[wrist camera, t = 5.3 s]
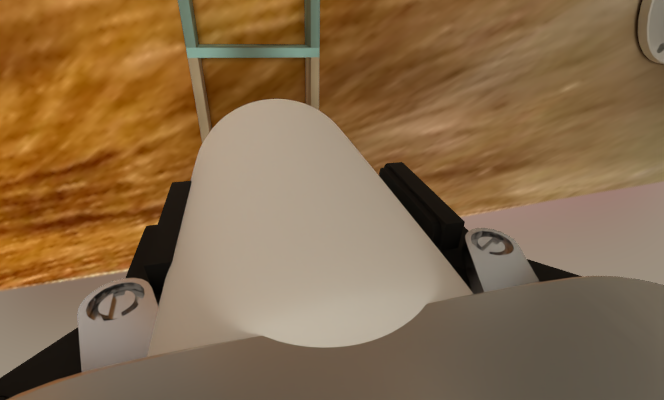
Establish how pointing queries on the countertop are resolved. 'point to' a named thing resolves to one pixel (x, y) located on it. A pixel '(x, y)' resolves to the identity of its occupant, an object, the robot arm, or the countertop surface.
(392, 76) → the countertop surface
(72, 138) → the countertop surface
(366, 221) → the can
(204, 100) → the slot rack
